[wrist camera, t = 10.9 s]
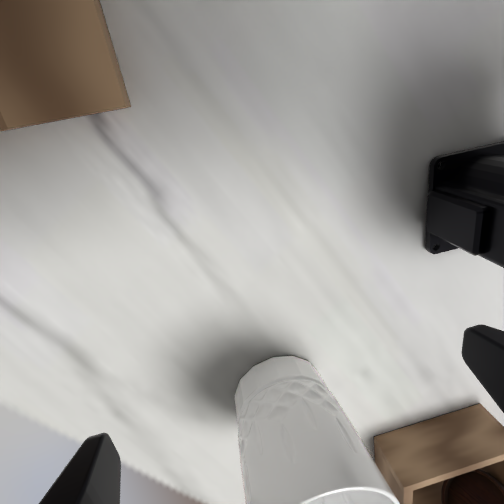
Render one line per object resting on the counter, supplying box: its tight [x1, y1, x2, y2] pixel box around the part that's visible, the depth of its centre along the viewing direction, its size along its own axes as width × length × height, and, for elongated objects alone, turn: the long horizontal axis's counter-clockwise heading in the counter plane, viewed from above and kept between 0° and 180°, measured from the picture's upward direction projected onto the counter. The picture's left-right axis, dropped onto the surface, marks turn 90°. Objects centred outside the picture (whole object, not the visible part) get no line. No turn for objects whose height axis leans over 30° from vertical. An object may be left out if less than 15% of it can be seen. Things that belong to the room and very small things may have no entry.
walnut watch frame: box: [374, 404, 504, 504], centre depth 31 cm, size 11×11×4 cm
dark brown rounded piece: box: [441, 469, 504, 504], centre depth 30 cm, size 8×8×7 cm
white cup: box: [234, 356, 400, 504], centre depth 21 cm, size 8×8×10 cm
